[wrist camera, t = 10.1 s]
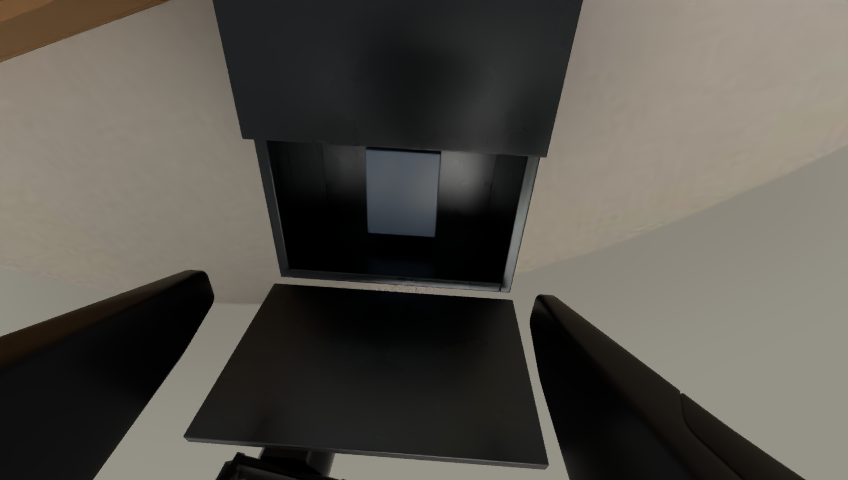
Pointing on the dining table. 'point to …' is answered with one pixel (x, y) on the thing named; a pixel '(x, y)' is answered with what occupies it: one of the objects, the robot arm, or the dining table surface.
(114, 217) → the dining table surface
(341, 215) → the black cupboard
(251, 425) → the hatch
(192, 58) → the dining table surface
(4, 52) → the laundry tray
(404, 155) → the blue-grey block
